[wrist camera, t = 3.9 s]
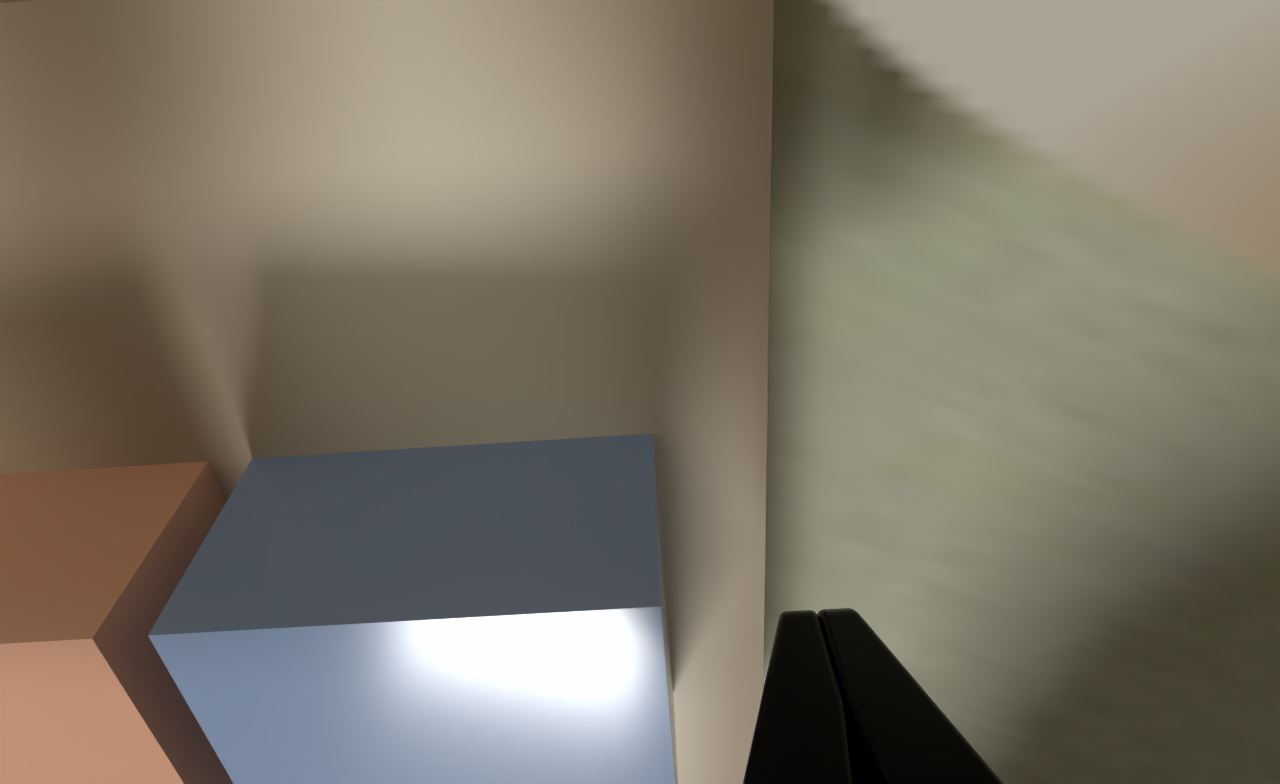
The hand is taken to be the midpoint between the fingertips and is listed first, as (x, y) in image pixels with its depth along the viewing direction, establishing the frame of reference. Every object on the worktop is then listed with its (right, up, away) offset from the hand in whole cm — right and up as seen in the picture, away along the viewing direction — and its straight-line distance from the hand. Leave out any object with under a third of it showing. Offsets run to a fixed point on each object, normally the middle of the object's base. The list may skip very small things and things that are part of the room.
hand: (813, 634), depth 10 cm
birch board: (-6, +2, +4) cm, 8 cm away
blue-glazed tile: (-4, 0, +1) cm, 4 cm away
